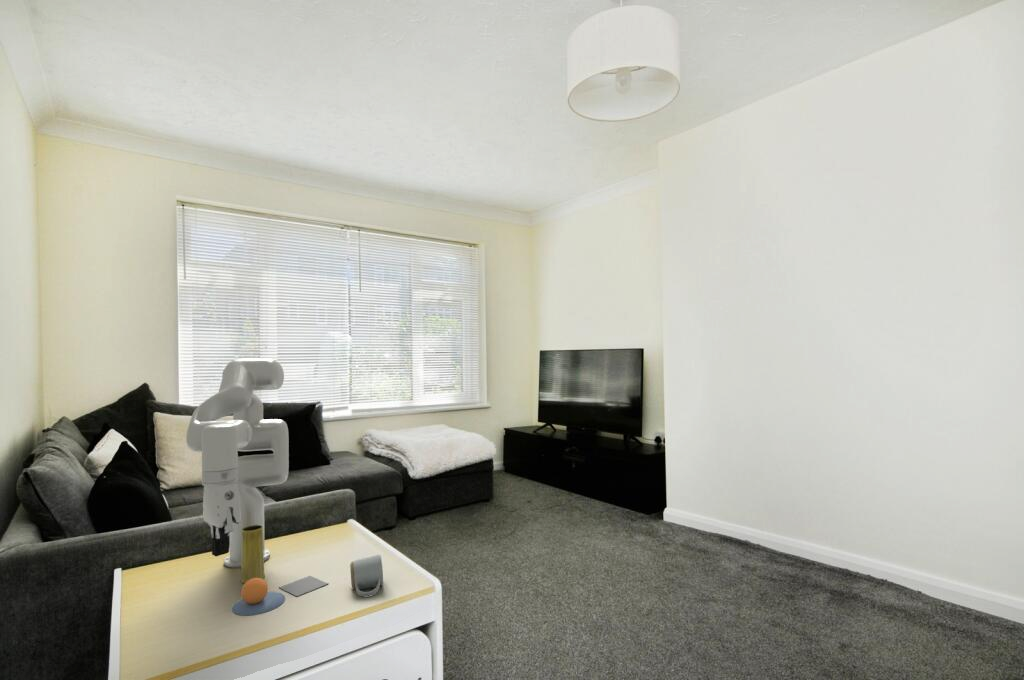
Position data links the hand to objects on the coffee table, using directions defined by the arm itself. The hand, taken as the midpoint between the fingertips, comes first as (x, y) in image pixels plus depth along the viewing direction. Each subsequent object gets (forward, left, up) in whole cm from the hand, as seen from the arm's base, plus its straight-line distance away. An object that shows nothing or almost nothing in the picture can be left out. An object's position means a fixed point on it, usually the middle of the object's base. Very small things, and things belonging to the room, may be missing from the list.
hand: (220, 553), depth 124 cm
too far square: (0, +21, -15) cm, 26 cm away
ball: (-1, +9, -12) cm, 15 cm away
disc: (0, +9, -15) cm, 18 cm away
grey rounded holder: (+16, +30, -15) cm, 37 cm away
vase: (-16, +15, -15) cm, 27 cm away
